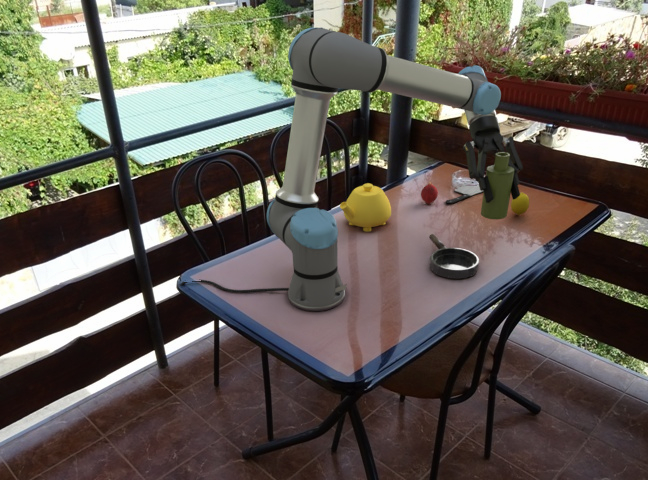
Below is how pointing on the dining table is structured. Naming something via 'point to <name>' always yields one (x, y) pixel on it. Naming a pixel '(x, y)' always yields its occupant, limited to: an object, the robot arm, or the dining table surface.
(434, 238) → the pan handle
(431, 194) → the onion
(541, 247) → the dining table surface
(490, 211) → the oil bottle
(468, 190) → the cleaver
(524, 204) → the lemon
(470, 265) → the pan
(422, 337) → the dining table surface
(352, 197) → the teapot
